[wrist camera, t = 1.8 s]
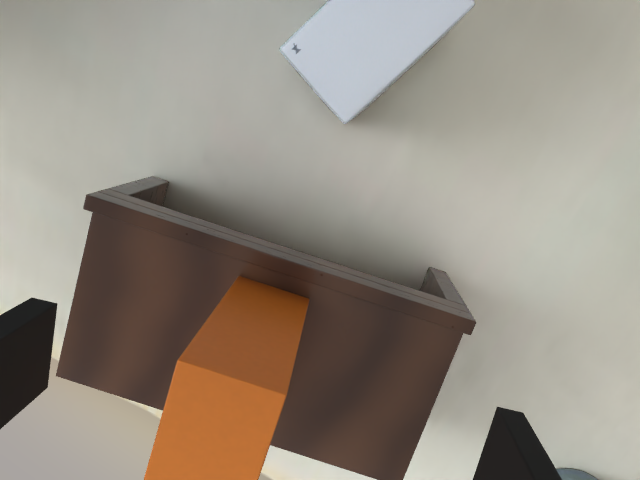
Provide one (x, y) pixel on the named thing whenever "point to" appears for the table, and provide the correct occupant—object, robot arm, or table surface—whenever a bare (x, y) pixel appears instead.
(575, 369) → the table surface
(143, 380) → the wooden bench
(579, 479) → the grey embossed plant pot
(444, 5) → the cosmetics box
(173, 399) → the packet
